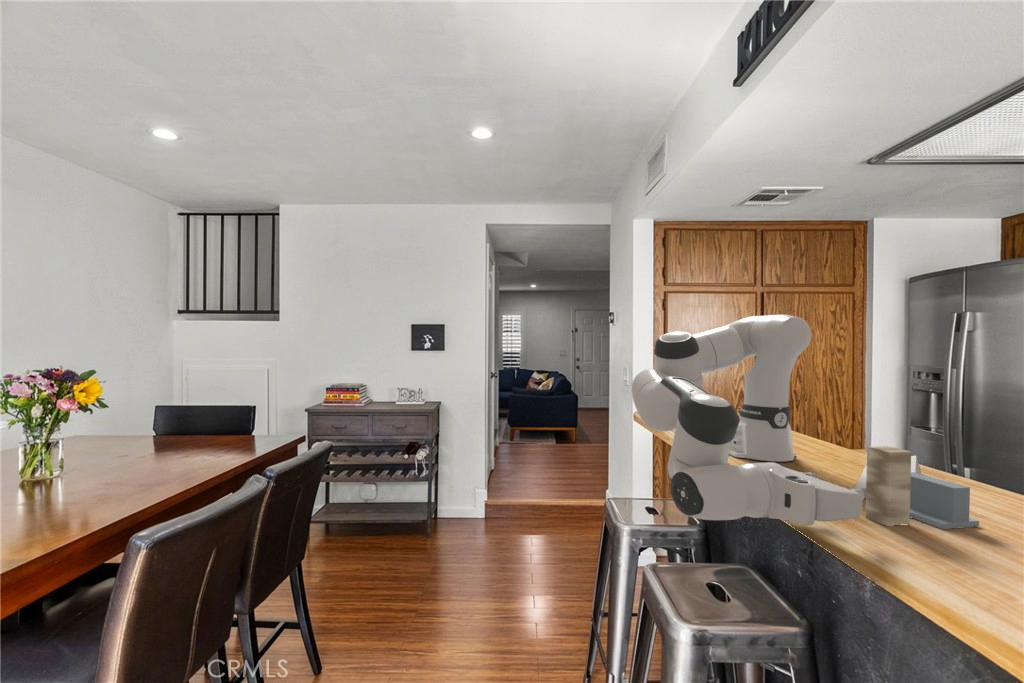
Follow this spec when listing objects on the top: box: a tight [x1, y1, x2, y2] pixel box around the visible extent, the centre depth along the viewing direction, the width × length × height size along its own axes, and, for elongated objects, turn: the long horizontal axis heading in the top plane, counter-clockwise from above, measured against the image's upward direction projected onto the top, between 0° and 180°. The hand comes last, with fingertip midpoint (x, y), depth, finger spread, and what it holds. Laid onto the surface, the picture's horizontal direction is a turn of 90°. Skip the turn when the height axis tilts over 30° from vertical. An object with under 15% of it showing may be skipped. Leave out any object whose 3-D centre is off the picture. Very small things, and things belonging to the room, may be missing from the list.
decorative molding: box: [855, 455, 922, 499], centre depth 116 cm, size 34×5×10 cm
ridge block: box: [910, 472, 980, 530], centre depth 94 cm, size 10×8×7 cm
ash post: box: [865, 445, 912, 527], centre depth 92 cm, size 4×4×13 cm
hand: (836, 485), depth 89 cm, fingers open, 8 cm apart
